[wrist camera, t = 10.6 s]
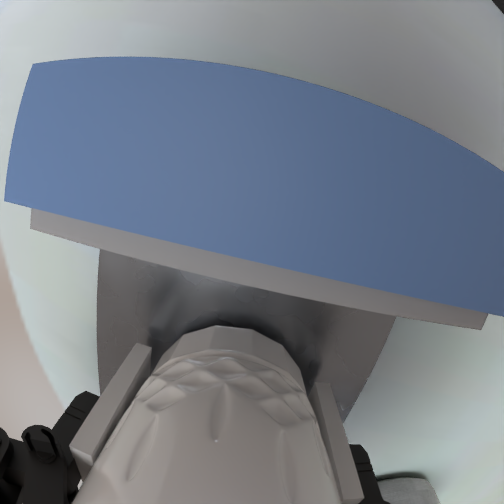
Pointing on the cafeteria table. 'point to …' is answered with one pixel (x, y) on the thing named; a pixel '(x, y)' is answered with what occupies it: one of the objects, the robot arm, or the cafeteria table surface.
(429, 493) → the planter
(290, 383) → the white cup
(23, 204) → the sliding jaw
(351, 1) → the cafeteria table surface
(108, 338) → the vise bed
